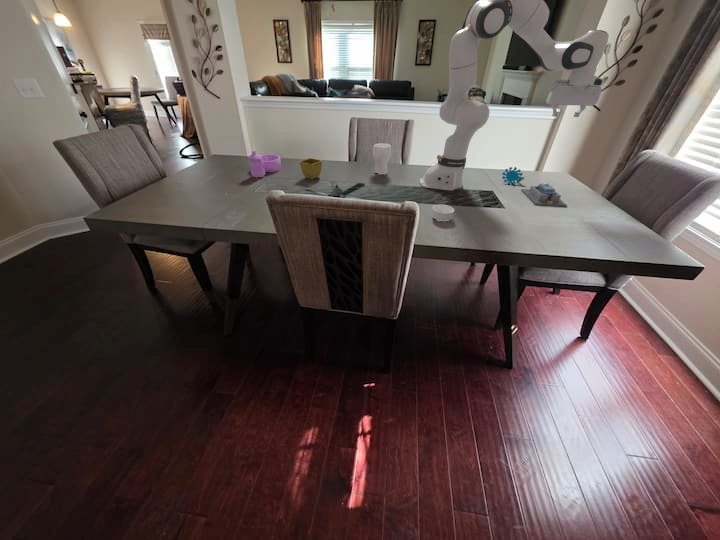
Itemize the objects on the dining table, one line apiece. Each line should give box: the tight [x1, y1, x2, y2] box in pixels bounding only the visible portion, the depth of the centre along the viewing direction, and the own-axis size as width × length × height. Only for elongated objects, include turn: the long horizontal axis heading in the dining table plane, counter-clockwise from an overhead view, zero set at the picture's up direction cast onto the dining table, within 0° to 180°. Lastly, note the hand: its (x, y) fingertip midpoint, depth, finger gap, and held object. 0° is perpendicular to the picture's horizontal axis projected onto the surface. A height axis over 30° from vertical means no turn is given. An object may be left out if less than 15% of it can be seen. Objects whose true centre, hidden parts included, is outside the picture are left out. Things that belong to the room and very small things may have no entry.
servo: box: [537, 182, 556, 200], centre depth 134 cm, size 4×10×6 cm, turn 174°
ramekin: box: [431, 204, 455, 221], centre depth 117 cm, size 9×9×4 cm
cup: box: [372, 142, 393, 175], centre depth 159 cm, size 11×11×15 cm
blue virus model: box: [501, 166, 525, 186], centre depth 153 cm, size 11×6×10 cm
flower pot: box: [299, 157, 323, 180], centre depth 153 cm, size 9×9×9 cm
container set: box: [247, 150, 283, 178], centre depth 159 cm, size 25×15×13 cm, turn 172°
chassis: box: [520, 185, 568, 208], centre depth 135 cm, size 14×18×4 cm
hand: (565, 116), depth 128 cm, fingers open, 8 cm apart
